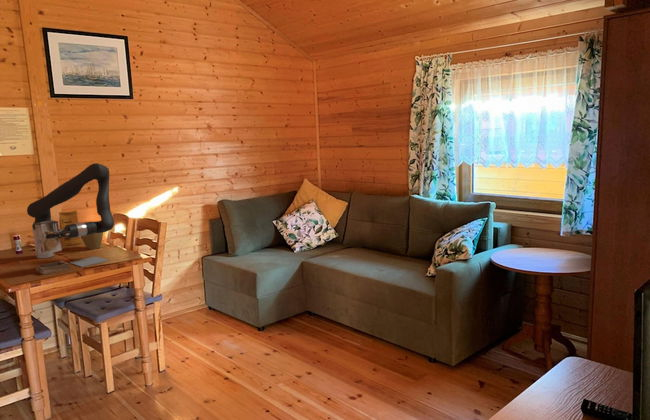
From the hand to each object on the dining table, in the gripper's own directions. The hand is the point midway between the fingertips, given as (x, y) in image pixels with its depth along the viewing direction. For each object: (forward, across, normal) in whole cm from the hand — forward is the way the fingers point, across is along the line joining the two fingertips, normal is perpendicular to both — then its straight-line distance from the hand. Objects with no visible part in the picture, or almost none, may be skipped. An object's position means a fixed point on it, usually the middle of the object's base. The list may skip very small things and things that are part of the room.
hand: (43, 235), depth 257 cm
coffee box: (-2, 0, +9) cm, 10 cm away
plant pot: (-39, -32, +20) cm, 54 cm away
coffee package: (-36, -59, +20) cm, 72 cm away
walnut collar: (-2, 0, +19) cm, 19 cm away
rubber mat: (-21, 0, +19) cm, 29 cm away
